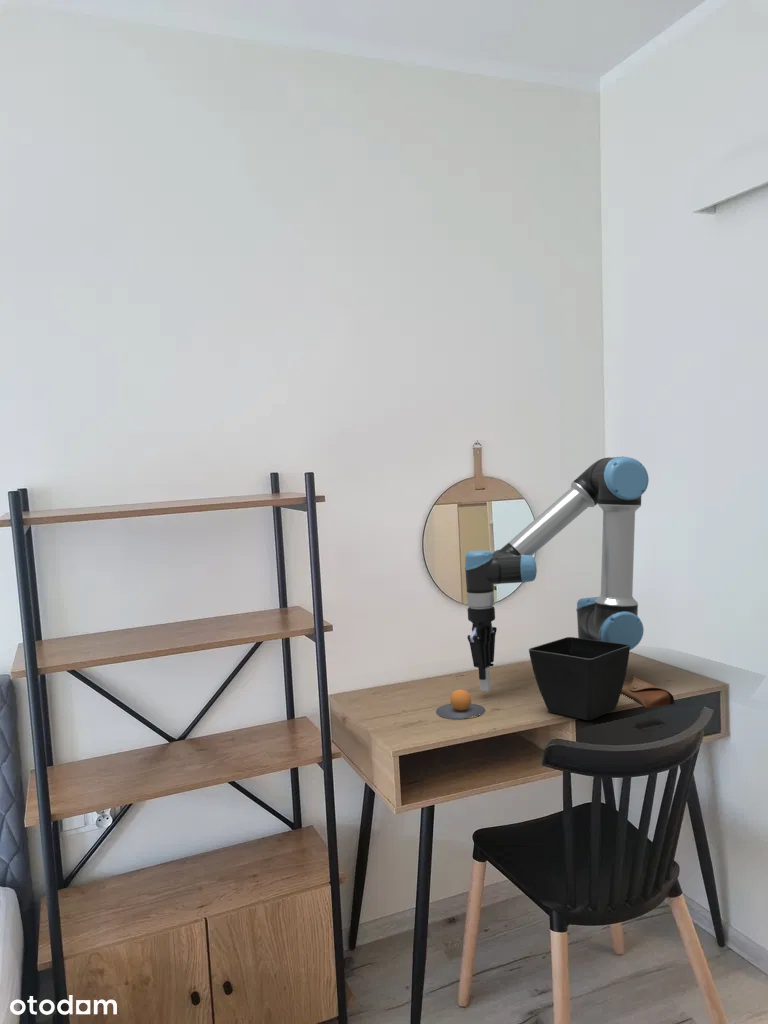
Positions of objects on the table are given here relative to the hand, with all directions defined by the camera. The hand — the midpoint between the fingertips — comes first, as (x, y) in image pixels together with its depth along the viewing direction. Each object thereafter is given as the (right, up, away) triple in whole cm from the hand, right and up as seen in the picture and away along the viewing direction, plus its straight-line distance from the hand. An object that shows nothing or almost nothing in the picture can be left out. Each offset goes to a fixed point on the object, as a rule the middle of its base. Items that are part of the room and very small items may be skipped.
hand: (485, 689), depth 213 cm
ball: (-8, 0, -11) cm, 13 cm away
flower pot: (+23, -2, -16) cm, 28 cm away
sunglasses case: (+41, -1, -8) cm, 42 cm away
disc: (-8, -3, -11) cm, 14 cm away
